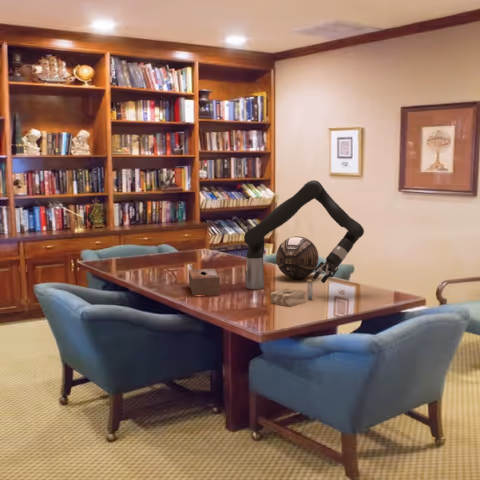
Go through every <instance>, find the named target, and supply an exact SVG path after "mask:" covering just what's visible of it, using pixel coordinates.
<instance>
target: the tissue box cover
mask: <svg viewBox="0 0 480 480" xmlns="http://www.w3.org/2000/svg"><path fill="white" fill-rule="evenodd" d="M220 280H221V279H220V276H219V274H218V273H217V271H216V269H215V268H202V269H201V268H199V269H197V268H196V269H188V281H189V283H188V284H189V286H190V287H189V289H190V288H191V290H190V292H191V291H192V293H191V295H192V294H193V295H217V296H221V283H220V282H221V281H220Z"/></svg>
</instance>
